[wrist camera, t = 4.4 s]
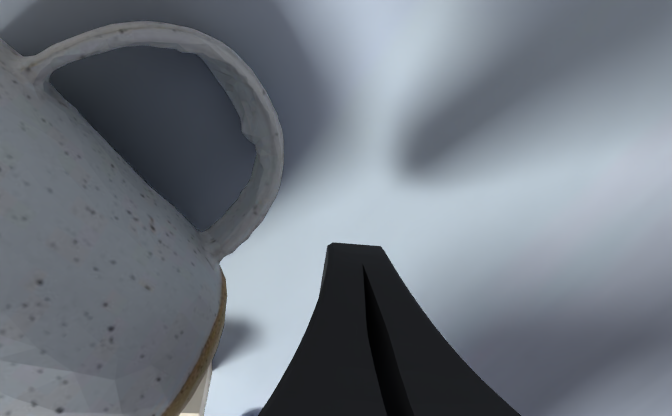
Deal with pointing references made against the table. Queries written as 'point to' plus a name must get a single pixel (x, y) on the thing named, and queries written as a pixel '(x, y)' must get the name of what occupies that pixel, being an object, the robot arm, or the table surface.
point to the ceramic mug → (111, 242)
